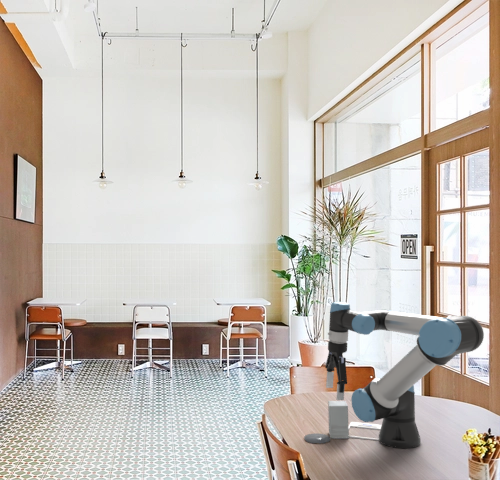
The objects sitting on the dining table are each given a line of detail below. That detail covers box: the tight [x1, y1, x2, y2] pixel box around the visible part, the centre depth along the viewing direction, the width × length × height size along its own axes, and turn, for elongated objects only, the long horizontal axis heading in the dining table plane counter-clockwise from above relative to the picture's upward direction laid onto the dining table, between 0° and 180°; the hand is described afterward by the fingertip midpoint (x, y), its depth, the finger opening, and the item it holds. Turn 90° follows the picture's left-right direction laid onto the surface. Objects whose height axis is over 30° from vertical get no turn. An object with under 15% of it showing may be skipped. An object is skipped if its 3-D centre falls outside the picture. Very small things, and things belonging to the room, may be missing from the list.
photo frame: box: [348, 421, 382, 442], centre depth 204 cm, size 15×1×18 cm
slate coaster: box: [303, 432, 331, 445], centre depth 196 cm, size 10×10×1 cm
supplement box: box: [327, 400, 350, 440], centre depth 200 cm, size 7×7×13 cm
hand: (334, 393), depth 203 cm, fingers open, 13 cm apart
